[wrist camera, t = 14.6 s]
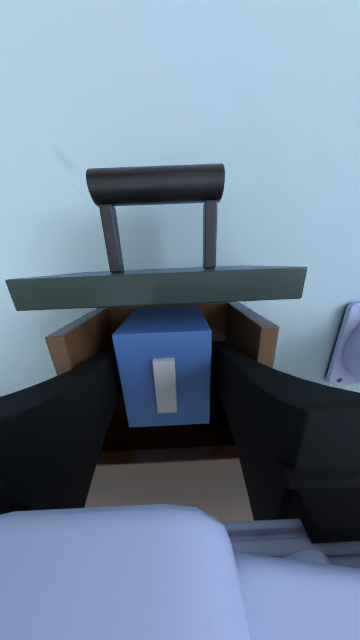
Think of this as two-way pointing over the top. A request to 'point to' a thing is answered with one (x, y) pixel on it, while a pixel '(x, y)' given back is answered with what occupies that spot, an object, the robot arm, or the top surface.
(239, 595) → the robot arm
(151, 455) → the cabinet
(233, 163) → the top surface
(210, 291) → the drawer
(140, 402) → the tissue pack
